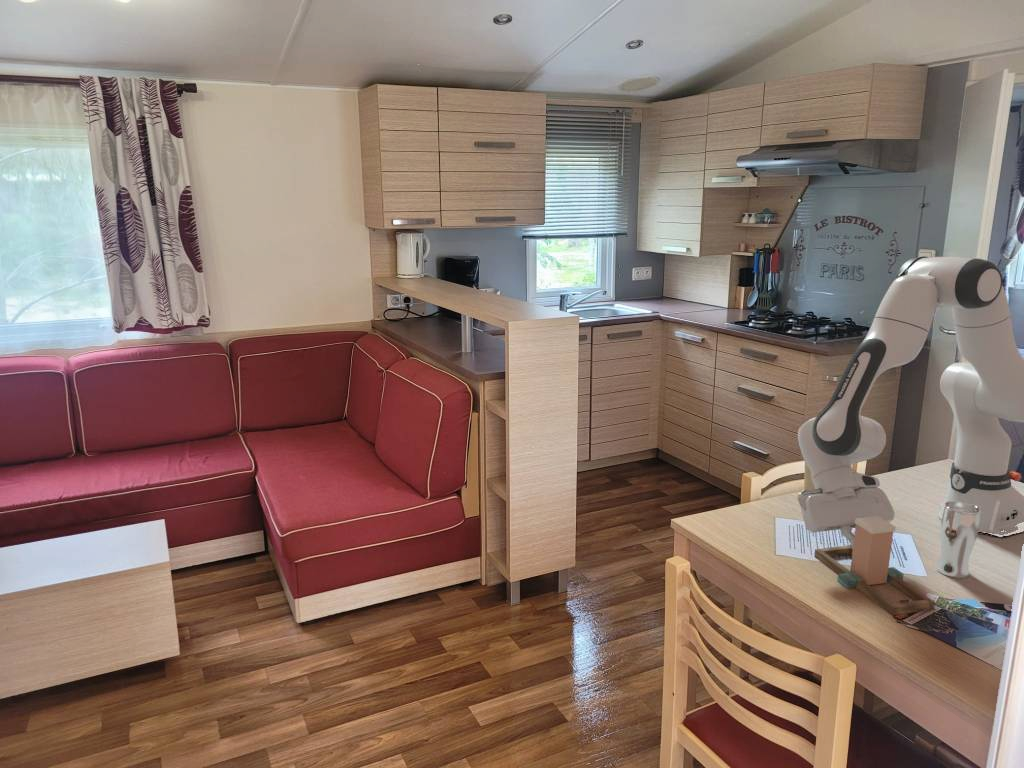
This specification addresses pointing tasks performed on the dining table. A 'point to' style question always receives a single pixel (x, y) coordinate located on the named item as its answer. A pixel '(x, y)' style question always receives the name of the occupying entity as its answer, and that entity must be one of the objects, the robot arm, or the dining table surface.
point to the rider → (872, 549)
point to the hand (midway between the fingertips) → (861, 546)
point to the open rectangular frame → (853, 581)
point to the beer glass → (957, 537)
